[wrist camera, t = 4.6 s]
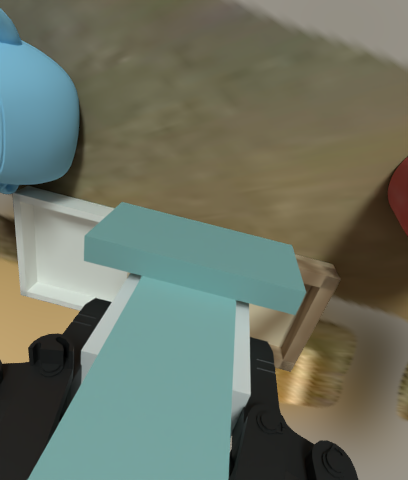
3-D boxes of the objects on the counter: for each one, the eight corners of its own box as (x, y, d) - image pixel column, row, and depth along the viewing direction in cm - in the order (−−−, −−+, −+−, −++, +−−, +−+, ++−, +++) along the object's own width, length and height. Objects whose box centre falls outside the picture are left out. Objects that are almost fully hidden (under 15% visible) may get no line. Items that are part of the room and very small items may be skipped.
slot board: (125, 309, 39) (116, 324, 36) (137, 212, 32) (127, 223, 30) (287, 352, 38) (290, 371, 36) (332, 264, 32) (340, 279, 29)
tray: (33, 283, 39) (20, 294, 37) (28, 185, 33) (12, 192, 30) (125, 307, 39) (117, 320, 36) (137, 214, 32) (129, 223, 30)
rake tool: (122, 202, 15) (-167, 459, 5) (291, 245, 15) (403, 612, 4) (114, 282, 18) (-86, 573, 7) (261, 320, 17) (286, 675, 7)
